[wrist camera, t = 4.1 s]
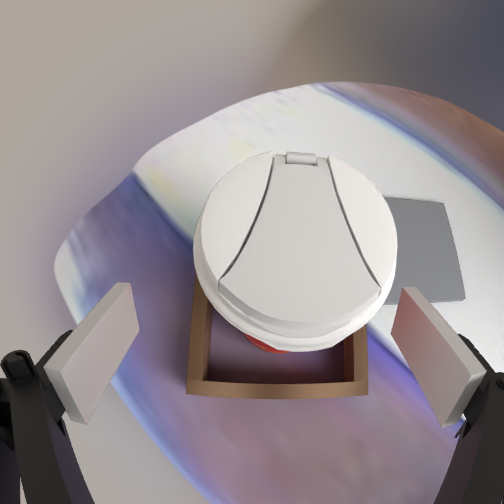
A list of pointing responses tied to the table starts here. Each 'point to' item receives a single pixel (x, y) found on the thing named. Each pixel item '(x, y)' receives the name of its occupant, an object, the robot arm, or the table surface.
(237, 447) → the table surface
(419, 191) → the table surface
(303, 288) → the paper cup
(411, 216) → the mat
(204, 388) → the brown square open frame
